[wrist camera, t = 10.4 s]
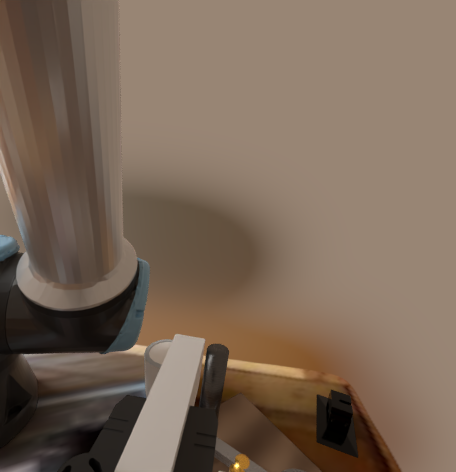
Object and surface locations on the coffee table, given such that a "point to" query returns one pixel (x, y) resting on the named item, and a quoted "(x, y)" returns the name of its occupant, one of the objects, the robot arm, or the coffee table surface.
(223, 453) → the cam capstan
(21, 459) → the coffee table surface
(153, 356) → the shot glass
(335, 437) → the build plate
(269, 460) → the crank stand
